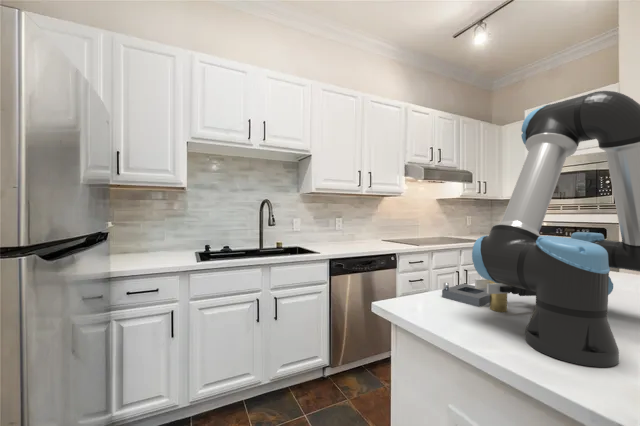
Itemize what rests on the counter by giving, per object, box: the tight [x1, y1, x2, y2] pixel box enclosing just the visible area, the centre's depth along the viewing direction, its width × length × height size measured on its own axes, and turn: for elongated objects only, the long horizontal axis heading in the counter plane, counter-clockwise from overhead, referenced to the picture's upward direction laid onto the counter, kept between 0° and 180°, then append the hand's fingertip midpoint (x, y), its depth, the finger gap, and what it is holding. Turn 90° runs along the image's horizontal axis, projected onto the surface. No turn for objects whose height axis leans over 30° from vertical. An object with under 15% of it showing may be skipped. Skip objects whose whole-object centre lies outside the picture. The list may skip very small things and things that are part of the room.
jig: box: [441, 282, 490, 308], centre depth 99 cm, size 14×12×4 cm
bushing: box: [489, 281, 508, 313], centre depth 87 cm, size 4×4×12 cm
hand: (481, 286), depth 87 cm, fingers open, 5 cm apart
